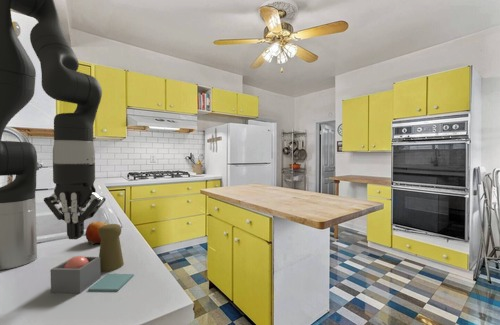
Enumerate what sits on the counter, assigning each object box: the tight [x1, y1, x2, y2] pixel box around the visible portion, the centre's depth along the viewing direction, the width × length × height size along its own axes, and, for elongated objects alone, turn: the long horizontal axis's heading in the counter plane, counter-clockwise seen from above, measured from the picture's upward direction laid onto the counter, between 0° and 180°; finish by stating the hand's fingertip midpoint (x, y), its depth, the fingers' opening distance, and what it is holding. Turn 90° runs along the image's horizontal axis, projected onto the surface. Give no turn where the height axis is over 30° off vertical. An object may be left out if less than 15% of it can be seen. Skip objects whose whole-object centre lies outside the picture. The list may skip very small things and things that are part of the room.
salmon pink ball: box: [64, 255, 89, 268], centre depth 53 cm, size 5×5×5 cm
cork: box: [98, 223, 125, 273], centre depth 62 cm, size 6×6×11 cm
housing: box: [50, 256, 102, 294], centre depth 53 cm, size 6×6×5 cm
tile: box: [87, 273, 135, 292], centre depth 54 cm, size 6×6×1 cm
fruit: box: [84, 221, 109, 247], centre depth 79 cm, size 8×8×8 cm
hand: (75, 238), depth 53 cm, fingers closed
